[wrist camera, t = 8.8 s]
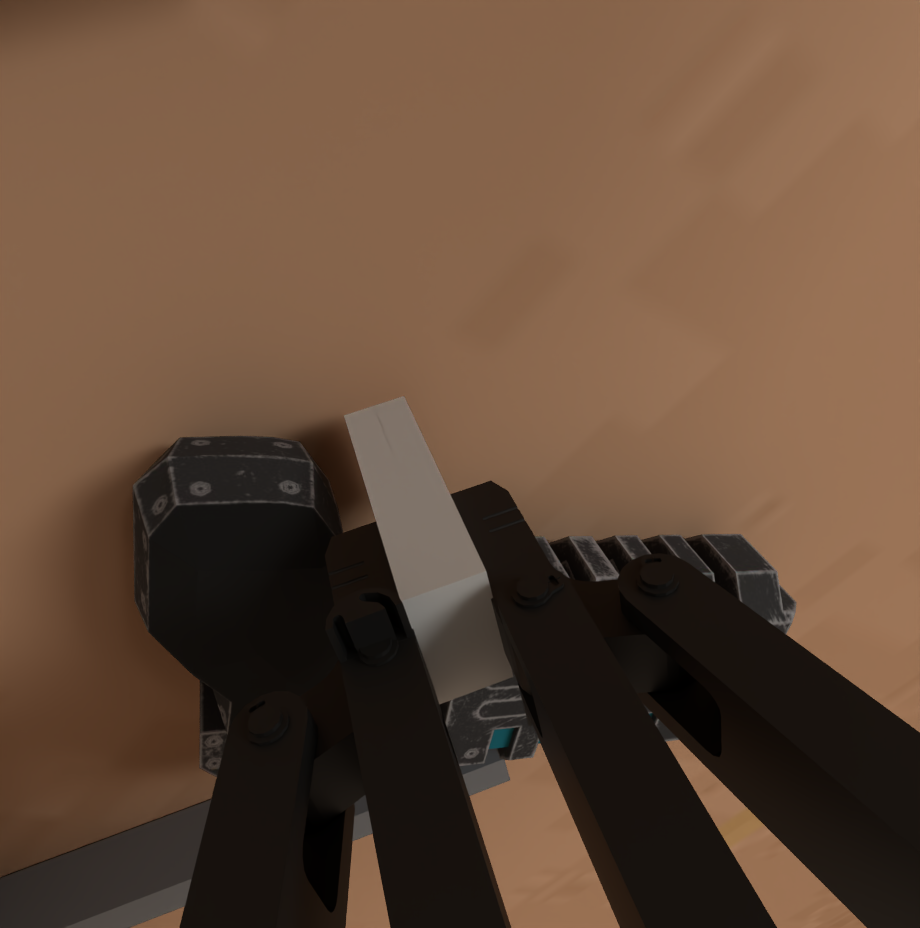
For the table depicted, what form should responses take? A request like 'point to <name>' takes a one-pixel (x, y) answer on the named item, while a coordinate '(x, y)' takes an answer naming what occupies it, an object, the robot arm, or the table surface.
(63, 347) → the table surface
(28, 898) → the dock
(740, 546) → the toy gun
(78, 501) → the table surface
